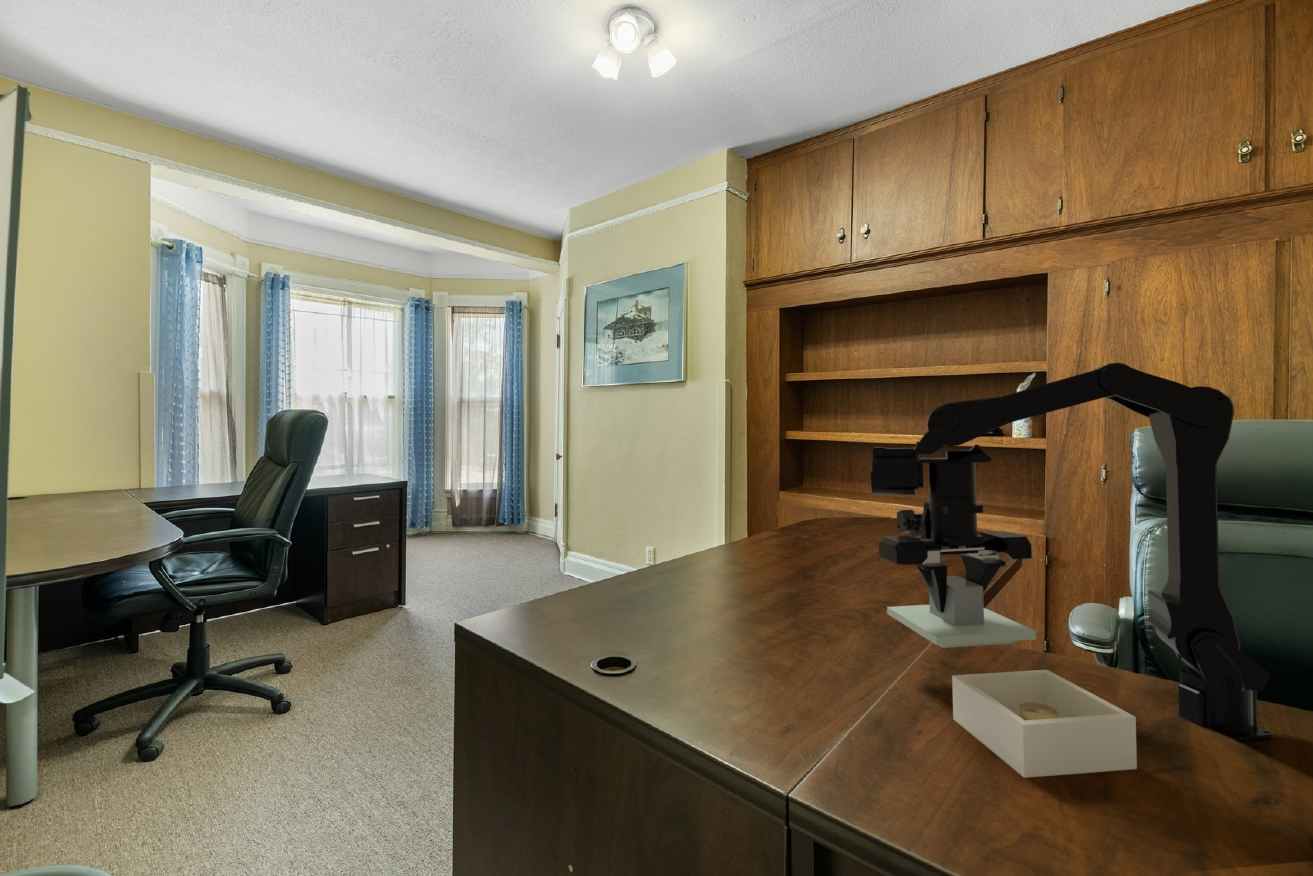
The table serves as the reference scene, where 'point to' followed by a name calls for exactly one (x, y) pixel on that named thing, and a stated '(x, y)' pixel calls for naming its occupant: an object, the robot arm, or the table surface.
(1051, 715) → the brass weight
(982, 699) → the box
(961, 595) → the lid
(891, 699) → the table surface
